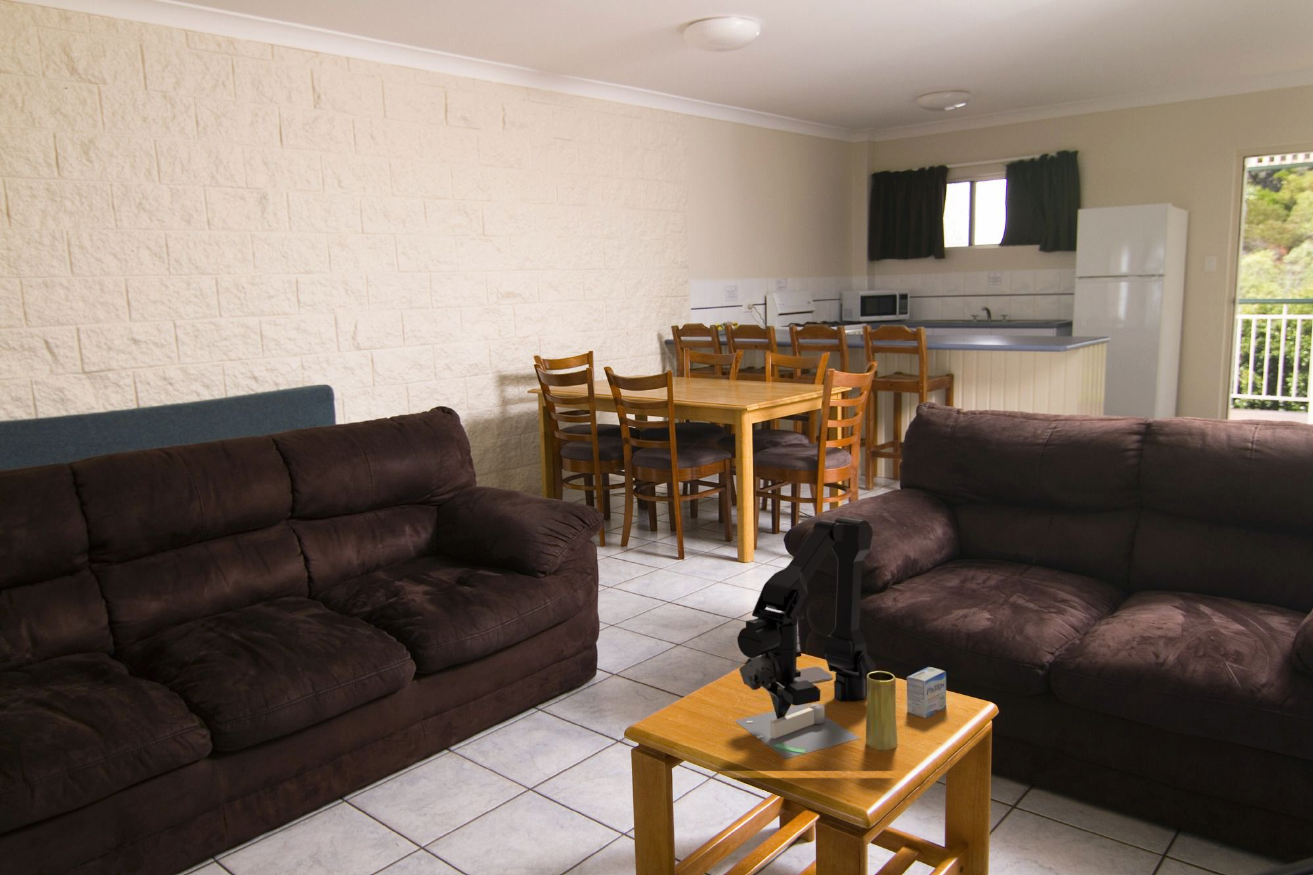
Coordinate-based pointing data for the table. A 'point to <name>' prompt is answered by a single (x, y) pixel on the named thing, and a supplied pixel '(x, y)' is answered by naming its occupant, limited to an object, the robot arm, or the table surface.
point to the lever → (797, 720)
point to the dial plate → (797, 734)
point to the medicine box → (926, 692)
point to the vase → (881, 711)
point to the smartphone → (814, 675)
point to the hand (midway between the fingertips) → (780, 720)
